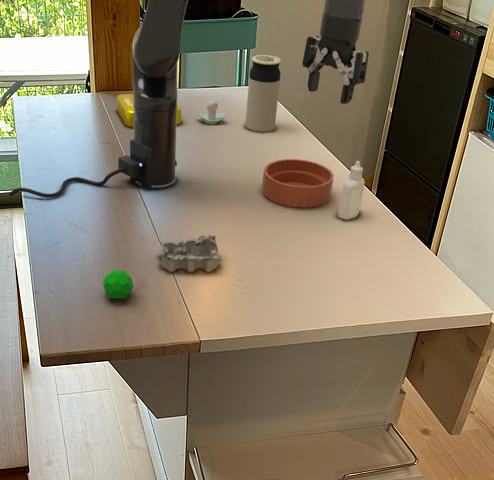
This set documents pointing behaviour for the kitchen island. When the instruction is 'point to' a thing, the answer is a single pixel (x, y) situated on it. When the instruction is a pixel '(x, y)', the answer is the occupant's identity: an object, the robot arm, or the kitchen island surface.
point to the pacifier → (212, 114)
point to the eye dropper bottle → (352, 193)
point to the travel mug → (263, 93)
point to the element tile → (128, 112)
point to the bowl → (297, 183)
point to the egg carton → (190, 254)
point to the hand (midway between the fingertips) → (328, 97)
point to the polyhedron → (118, 284)
